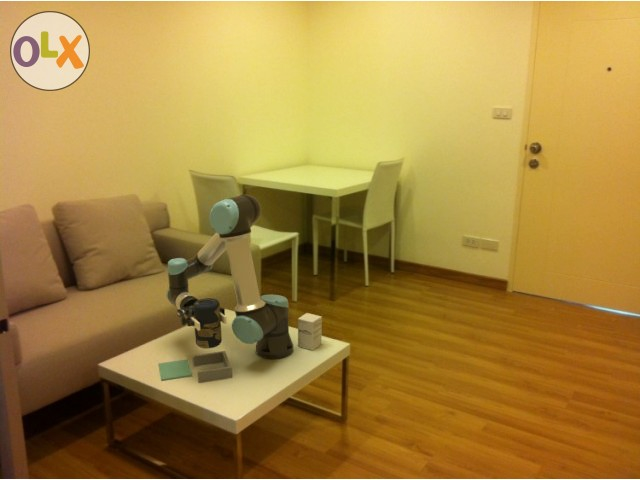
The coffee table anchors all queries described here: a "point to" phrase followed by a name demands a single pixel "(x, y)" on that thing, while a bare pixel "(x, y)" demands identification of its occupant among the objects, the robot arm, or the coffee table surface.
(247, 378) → the coffee table surface
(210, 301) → the canister
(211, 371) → the frame
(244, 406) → the coffee table surface
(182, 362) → the mat
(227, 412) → the coffee table surface
